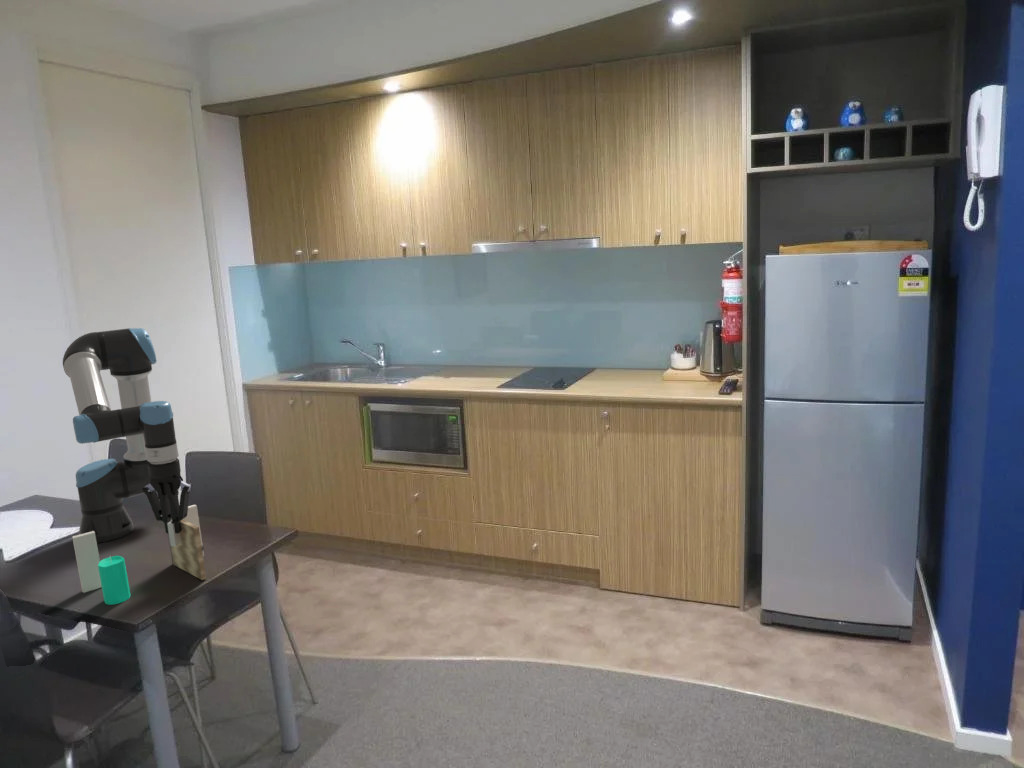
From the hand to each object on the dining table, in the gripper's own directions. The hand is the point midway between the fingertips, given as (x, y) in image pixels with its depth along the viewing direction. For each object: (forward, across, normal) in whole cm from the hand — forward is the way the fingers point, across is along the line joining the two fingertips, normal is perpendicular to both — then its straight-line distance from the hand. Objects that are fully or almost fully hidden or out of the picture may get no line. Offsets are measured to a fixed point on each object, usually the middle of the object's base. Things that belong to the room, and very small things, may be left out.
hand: (175, 544), depth 196 cm
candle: (+10, -10, -12) cm, 19 cm away
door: (+9, +2, +3) cm, 10 cm away
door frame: (+10, -12, +3) cm, 15 cm away
